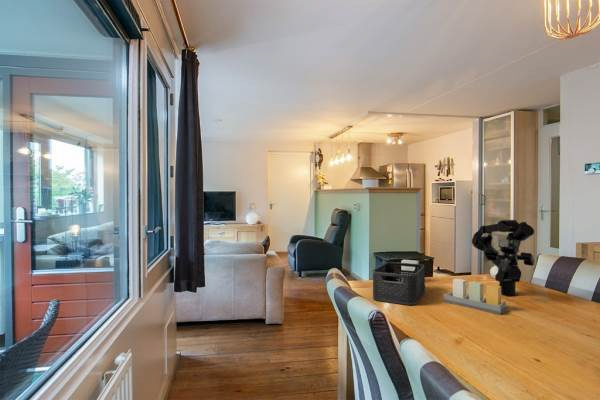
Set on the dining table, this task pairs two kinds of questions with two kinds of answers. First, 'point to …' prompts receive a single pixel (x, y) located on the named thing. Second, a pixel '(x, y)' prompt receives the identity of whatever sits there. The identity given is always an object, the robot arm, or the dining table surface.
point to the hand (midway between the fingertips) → (503, 272)
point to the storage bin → (398, 283)
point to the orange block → (493, 294)
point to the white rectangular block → (459, 288)
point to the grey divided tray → (476, 304)
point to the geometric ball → (494, 271)
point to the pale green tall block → (475, 291)
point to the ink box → (407, 266)
